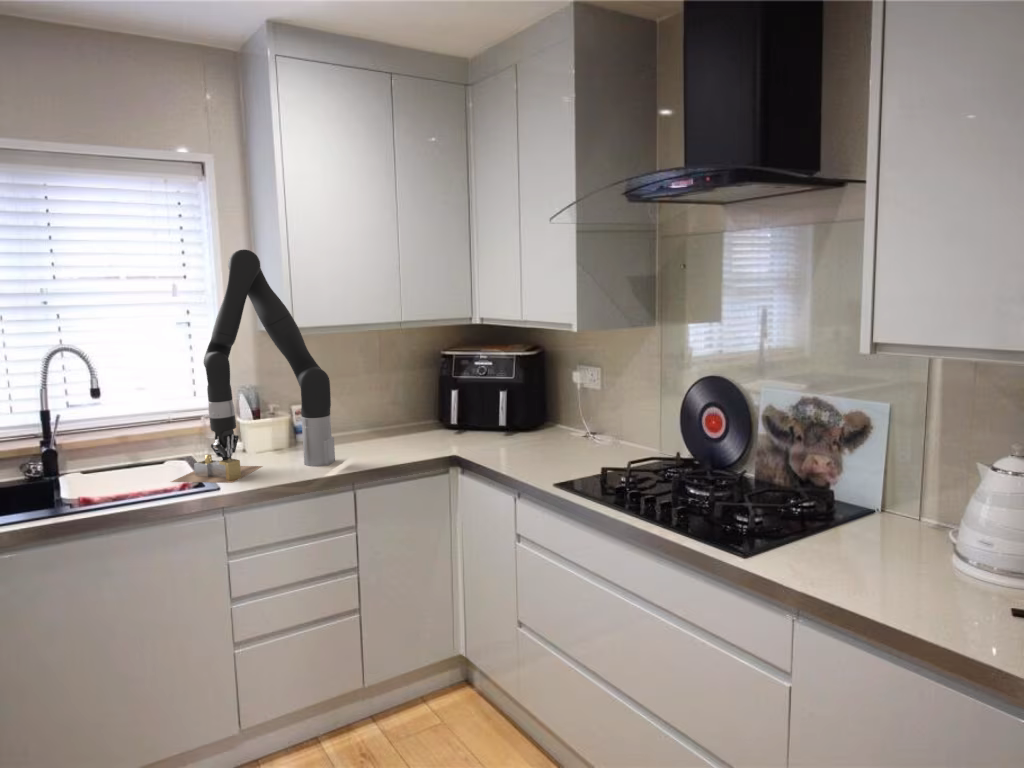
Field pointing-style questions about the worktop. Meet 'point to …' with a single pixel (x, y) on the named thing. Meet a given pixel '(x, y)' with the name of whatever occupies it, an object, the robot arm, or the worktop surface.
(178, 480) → the board
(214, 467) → the link
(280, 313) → the robot arm
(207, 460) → the cylinder
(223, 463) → the block
